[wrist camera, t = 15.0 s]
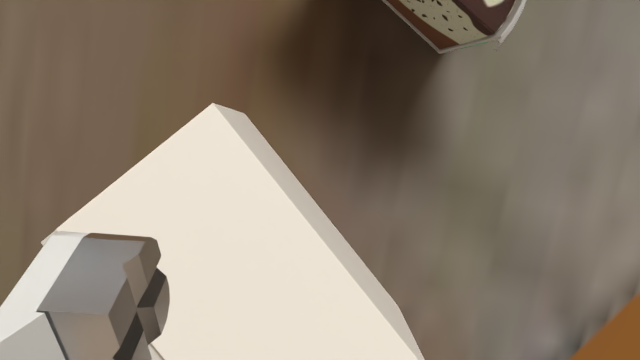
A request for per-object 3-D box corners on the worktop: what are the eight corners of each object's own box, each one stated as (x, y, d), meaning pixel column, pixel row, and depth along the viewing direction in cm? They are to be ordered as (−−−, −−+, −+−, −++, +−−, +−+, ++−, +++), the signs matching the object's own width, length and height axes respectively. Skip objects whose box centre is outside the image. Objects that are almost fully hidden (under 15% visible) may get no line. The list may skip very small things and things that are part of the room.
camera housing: (123, 210, 37) (38, 243, 26) (244, 113, 37) (212, 102, 25) (293, 416, 38) (284, 535, 27) (412, 324, 38) (455, 406, 26)
